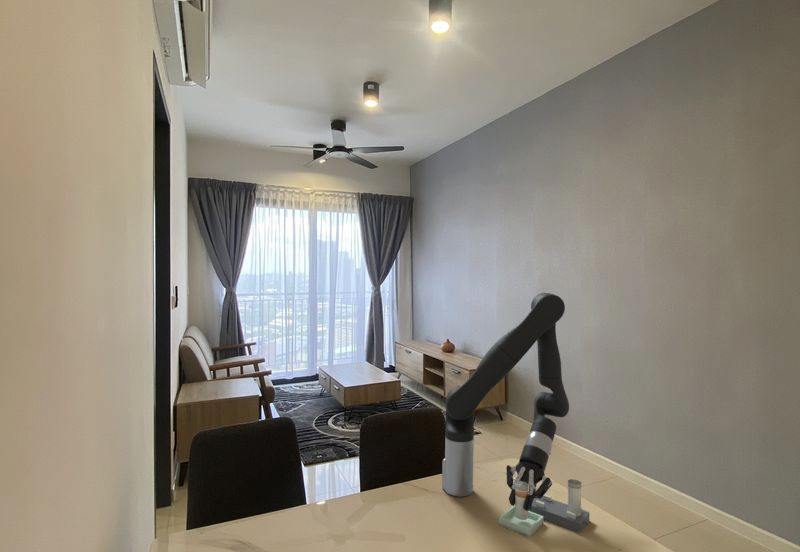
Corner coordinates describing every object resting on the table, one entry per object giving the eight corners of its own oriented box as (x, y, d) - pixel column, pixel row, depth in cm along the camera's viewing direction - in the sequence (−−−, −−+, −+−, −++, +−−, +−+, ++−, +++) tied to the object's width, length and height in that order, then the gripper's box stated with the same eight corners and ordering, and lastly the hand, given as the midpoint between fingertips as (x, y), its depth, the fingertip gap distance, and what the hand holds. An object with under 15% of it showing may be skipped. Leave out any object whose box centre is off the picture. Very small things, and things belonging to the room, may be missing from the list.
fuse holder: (528, 513, 127) (528, 500, 127) (538, 502, 133) (539, 490, 133) (580, 532, 117) (580, 519, 117) (589, 520, 123) (589, 507, 123)
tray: (498, 524, 120) (498, 517, 120) (513, 511, 127) (513, 505, 127) (530, 537, 114) (530, 530, 114) (543, 523, 121) (543, 516, 122)
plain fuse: (565, 514, 122) (565, 482, 122) (569, 509, 125) (570, 478, 125) (578, 518, 120) (578, 486, 120) (582, 513, 122) (583, 481, 123)
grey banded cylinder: (512, 516, 121) (513, 484, 121) (518, 511, 124) (518, 480, 124) (524, 521, 118) (525, 488, 119) (530, 515, 121) (530, 483, 121)
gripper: (510, 438, 132) (491, 492, 122) (556, 450, 122) (539, 510, 113) (518, 451, 136) (499, 504, 126) (563, 463, 126) (546, 522, 117)
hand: (518, 506), depth 120 cm, fingers closed on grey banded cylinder, 3 cm apart
